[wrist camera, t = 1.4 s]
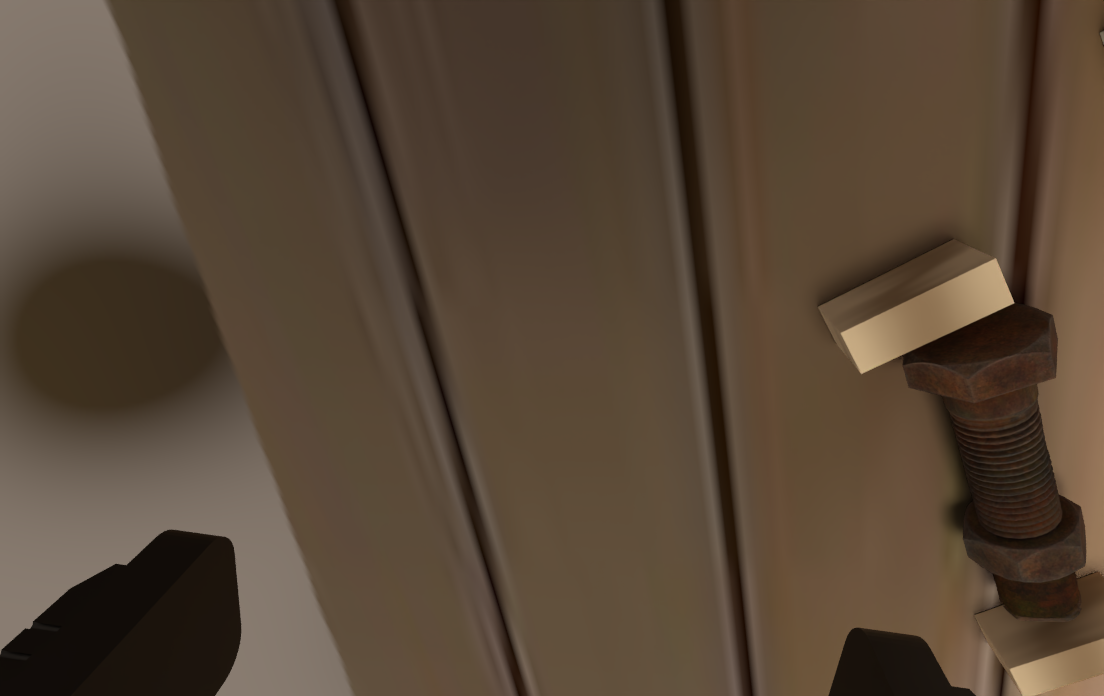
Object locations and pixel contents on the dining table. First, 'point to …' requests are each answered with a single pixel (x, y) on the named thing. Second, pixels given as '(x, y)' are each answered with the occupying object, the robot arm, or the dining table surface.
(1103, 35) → the tray
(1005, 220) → the dining table surface
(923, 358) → the bolt
